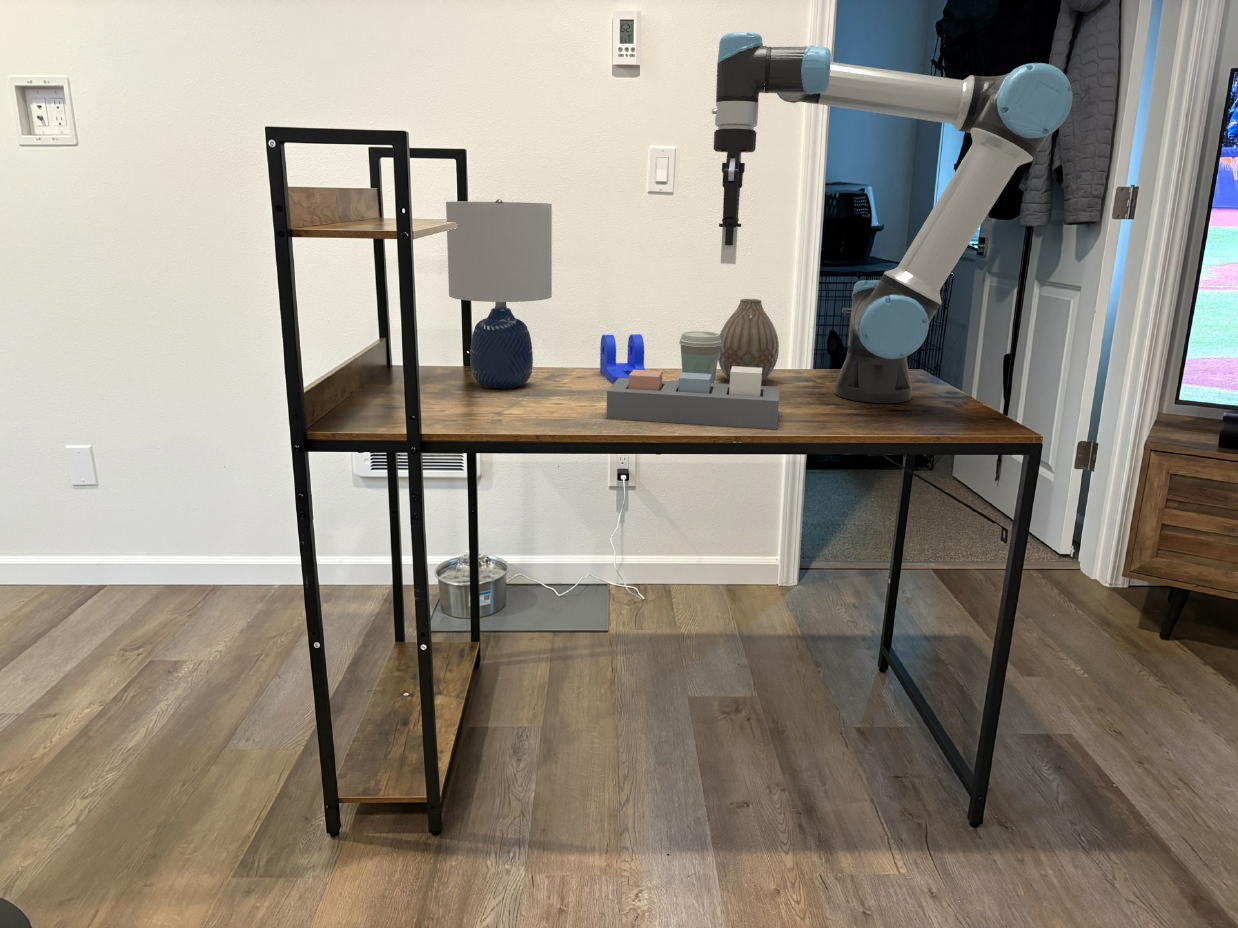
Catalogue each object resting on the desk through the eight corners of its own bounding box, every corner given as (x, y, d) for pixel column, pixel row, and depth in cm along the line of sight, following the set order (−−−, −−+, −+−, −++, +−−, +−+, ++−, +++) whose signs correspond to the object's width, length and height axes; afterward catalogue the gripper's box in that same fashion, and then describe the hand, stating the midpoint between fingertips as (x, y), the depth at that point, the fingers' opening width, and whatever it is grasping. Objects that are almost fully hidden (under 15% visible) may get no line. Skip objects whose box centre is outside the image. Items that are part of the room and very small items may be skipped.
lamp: (503, 401, 173) (500, 200, 162) (431, 386, 184) (423, 197, 174) (571, 385, 188) (572, 201, 178) (501, 372, 200) (498, 198, 189)
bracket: (600, 372, 203) (600, 332, 201) (636, 372, 205) (637, 332, 202) (617, 389, 186) (618, 346, 184) (656, 388, 188) (657, 345, 185)
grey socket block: (777, 413, 168) (779, 387, 167) (776, 429, 157) (778, 401, 155) (618, 403, 173) (618, 378, 171) (606, 418, 162) (606, 391, 160)
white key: (760, 391, 164) (762, 367, 163) (759, 398, 159) (761, 373, 158) (730, 390, 165) (732, 366, 164) (728, 396, 160) (730, 371, 159)
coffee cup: (717, 398, 179) (720, 338, 176) (674, 396, 181) (676, 336, 177) (721, 390, 187) (724, 332, 184) (680, 387, 189) (682, 329, 185)
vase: (774, 376, 202) (780, 297, 197) (778, 388, 190) (784, 304, 185) (715, 374, 203) (719, 295, 198) (715, 386, 191) (719, 302, 186)
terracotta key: (661, 394, 167) (662, 371, 166) (657, 401, 162) (658, 376, 161) (632, 393, 168) (633, 369, 167) (628, 399, 163) (628, 375, 162)
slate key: (710, 397, 166) (711, 374, 165) (708, 404, 161) (709, 379, 160) (681, 395, 167) (682, 372, 166) (677, 402, 162) (678, 378, 161)
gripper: (717, 131, 169) (710, 260, 176) (711, 126, 156) (705, 265, 163) (757, 131, 168) (749, 261, 174) (755, 126, 155) (747, 266, 162)
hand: (728, 263), depth 169 cm, fingers closed
